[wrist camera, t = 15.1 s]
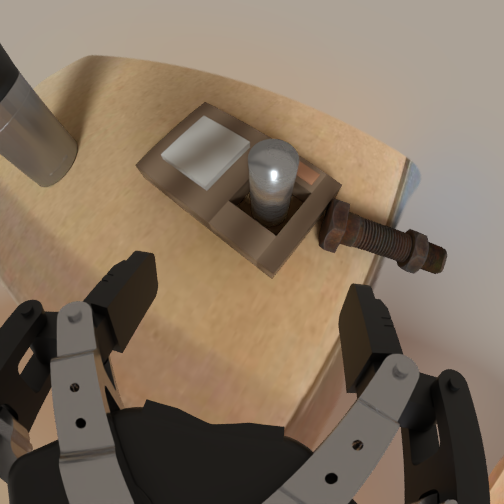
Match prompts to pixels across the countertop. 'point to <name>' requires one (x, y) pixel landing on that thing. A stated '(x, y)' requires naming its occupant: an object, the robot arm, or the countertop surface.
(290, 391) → the countertop surface
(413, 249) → the bolt
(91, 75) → the countertop surface
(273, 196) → the peg
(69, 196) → the countertop surface
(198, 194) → the recessed board
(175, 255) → the countertop surface
